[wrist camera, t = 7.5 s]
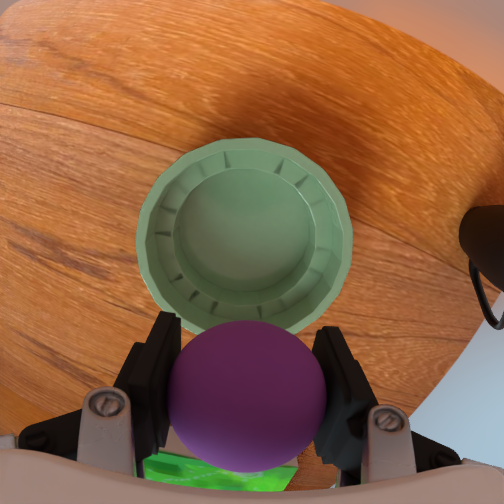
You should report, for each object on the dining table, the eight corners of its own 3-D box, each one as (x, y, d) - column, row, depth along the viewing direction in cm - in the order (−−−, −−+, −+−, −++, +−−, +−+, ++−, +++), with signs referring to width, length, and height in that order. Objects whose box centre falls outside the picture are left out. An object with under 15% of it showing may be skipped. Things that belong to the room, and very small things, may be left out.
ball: (153, 340, 11) (113, 441, 6) (257, 264, 10) (267, 361, 5) (237, 411, 12) (235, 508, 8) (334, 355, 11) (372, 455, 7)
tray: (256, 504, 45) (257, 524, 40) (130, 485, 42) (125, 504, 38) (294, 440, 37) (298, 467, 32) (115, 412, 35) (105, 438, 30)
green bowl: (124, 219, 26) (96, 237, 21) (259, 104, 24) (263, 91, 18) (232, 335, 31) (231, 374, 25) (361, 243, 28) (387, 267, 22)
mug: (430, 292, 30) (478, 337, 21) (459, 186, 26) (522, 206, 17) (476, 296, 30) (522, 334, 21) (503, 203, 27) (559, 224, 18)
